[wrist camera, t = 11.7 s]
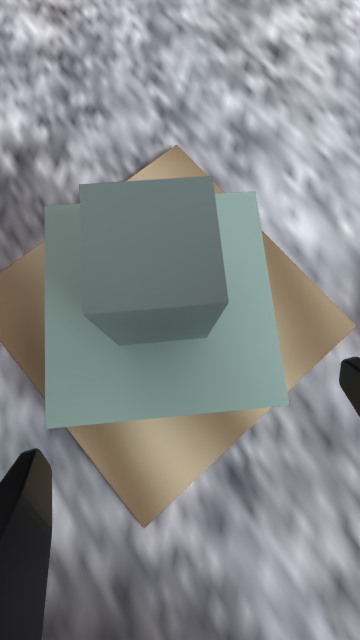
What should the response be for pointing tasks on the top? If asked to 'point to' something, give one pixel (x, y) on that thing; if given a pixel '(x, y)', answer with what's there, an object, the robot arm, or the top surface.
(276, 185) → the top surface
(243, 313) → the lid
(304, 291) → the cork mat
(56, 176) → the top surface
